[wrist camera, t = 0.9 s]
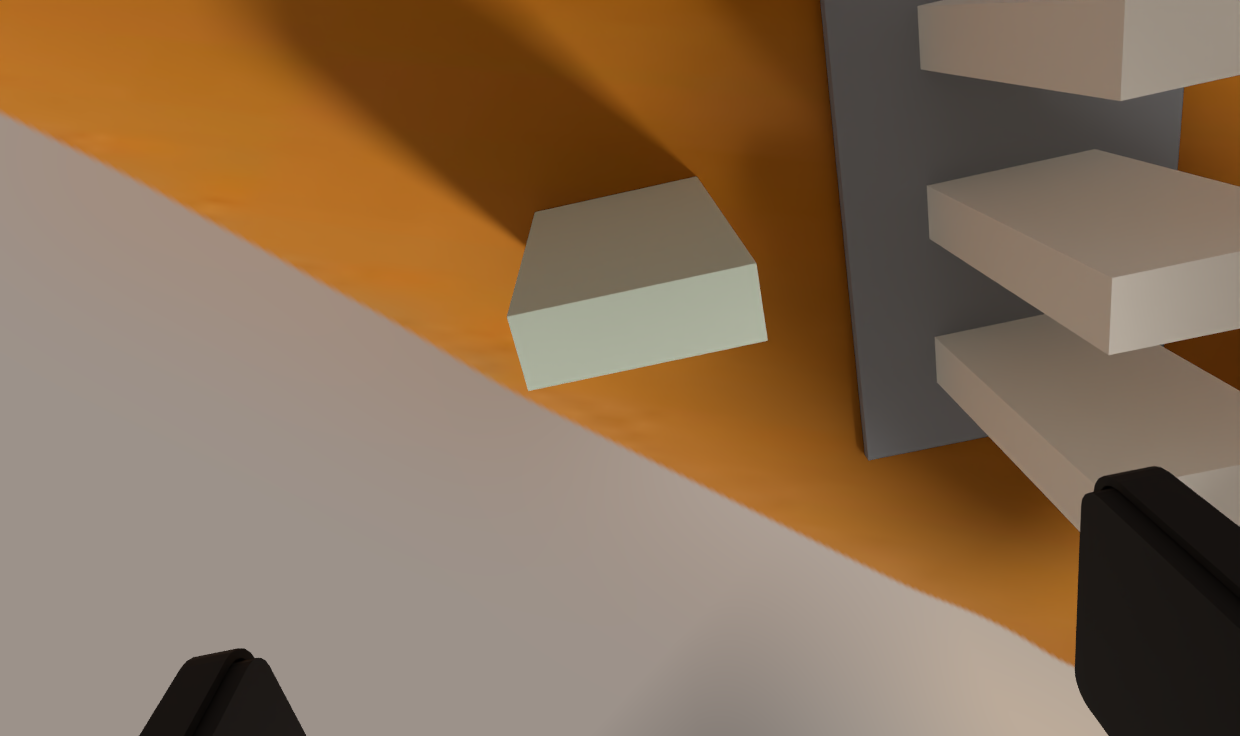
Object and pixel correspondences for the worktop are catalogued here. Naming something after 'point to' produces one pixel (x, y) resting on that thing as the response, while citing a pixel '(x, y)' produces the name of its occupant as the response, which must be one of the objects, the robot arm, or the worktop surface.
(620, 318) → the domino
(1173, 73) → the domino
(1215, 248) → the domino
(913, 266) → the mat
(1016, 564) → the worktop surface
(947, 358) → the domino
